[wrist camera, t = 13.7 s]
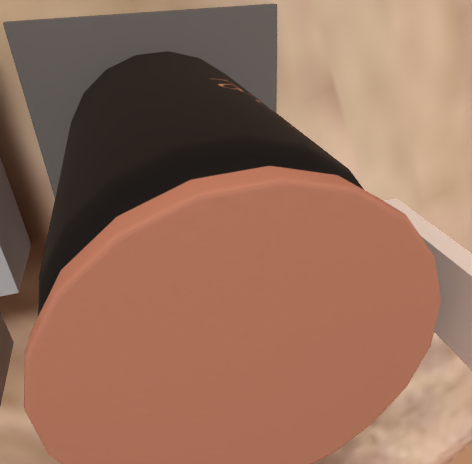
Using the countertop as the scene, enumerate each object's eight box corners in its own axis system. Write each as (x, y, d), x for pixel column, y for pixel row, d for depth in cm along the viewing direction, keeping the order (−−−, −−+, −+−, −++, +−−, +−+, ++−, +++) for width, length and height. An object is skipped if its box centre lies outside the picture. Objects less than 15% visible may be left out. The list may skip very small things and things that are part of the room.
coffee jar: (264, 191, 29) (436, 416, 14) (113, 242, 28) (126, 545, 13) (228, 23, 23) (458, 106, 8) (35, 80, 22) (-102, 294, 7)
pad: (73, 254, 28) (73, 259, 28) (5, 21, 21) (2, 22, 20) (272, 219, 31) (275, 223, 31) (273, 3, 24) (276, 4, 23)
